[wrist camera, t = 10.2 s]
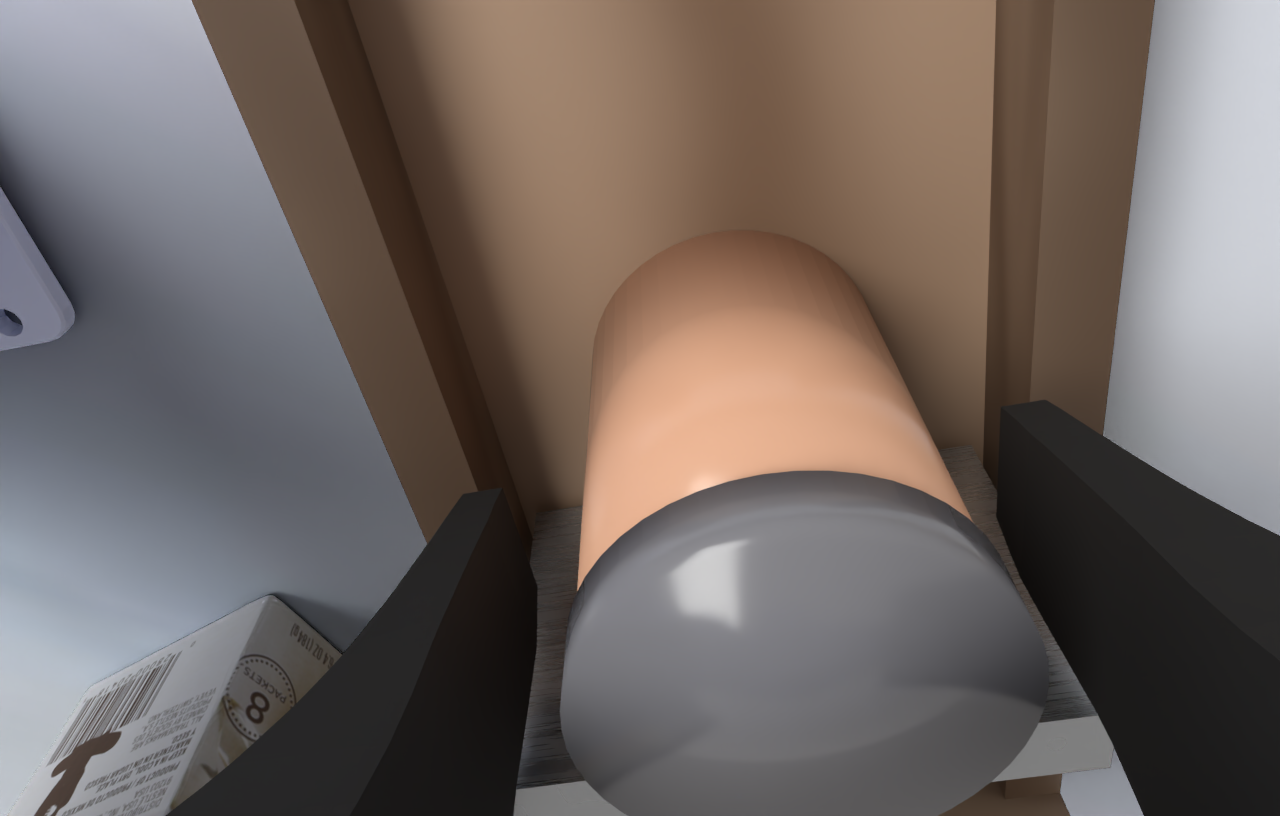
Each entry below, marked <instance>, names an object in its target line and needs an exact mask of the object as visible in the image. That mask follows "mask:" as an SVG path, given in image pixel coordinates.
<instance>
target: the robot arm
mask: <svg viewBox="0 0 1280 816" xmlns="http://www.w3.org/2000/svg"><path fill="white" fill-rule="evenodd" d="M4 309H6V310H8V311H10V312H12V313H14V314H15V315H16V316H17V317H18V318H19V319H20V320H21V322H22V325H19V324H17V323H15V322H13V321H11V320H10V319H9V318H8V317H7V316H6V315H5V312H4ZM74 320H75V312H74V309H73V307H72V304H71V302H70V300H69V299H68V297H67V296H66V294H65V292H64V291H63V289H62V287H61V286H60V284H59V282H58V281H57V279H56V277H55V276H54V274H53V273H52V271H51V269H50V268H49V266H48V264H47V263H46V261H45V259H44V258H43V256H42V255H41V253H40V251H39V250H38V248H37V246H36V245H35V243H34V241H33V240H32V238H31V236H30V235H29V233H28V232H27V230H26V228H25V227H24V225H23V223H22V222H21V220H20V218H19V217H18V215H17V213H16V212H15V210H14V209H13V207H12V205H11V204H10V202H9V200H8V199H7V197H6V195H5V194H4V192H3V190H2V189H1V187H0V351H3V350H8V349H14V348H19V347H24V346H30V345H35V344H40V343H46V342H51V341H53V340H56V339H58V338H60V337H61V336H62V335H64V334H65V333H66V332H67V331H68V330H69V329H70V328H71V326H72V325H73V324H74ZM996 518H997V521H998V523H999V526H1000V528H1001V531H1002V534H1003V536H1004V539H1005V541H1006V544H1007V547H1008V549H1009V552H1010V554H1011V557H1012V559H1013V561H1014V564H1015V566H1016V569H1017V571H1018V573H1019V576H1020V578H1021V580H1022V582H1023V584H1024V586H1025V587H1026V589H1027V591H1028V593H1029V595H1030V596H1031V598H1032V600H1033V602H1034V604H1035V605H1036V607H1037V609H1038V611H1039V612H1040V614H1041V616H1042V618H1043V620H1044V621H1045V623H1046V625H1047V627H1048V628H1049V630H1050V632H1051V634H1052V635H1053V637H1054V639H1055V641H1056V642H1057V644H1058V646H1059V648H1060V649H1061V651H1062V653H1063V655H1064V656H1065V658H1066V660H1067V662H1068V663H1069V665H1070V667H1071V669H1072V670H1073V672H1074V674H1075V676H1076V677H1077V679H1078V681H1079V683H1080V684H1081V686H1082V688H1083V690H1084V691H1085V693H1086V695H1087V697H1088V698H1089V700H1090V702H1091V704H1092V705H1093V707H1094V709H1095V711H1096V713H1097V715H1098V716H1099V718H1100V720H1101V722H1102V724H1103V726H1104V728H1105V730H1106V732H1107V734H1108V736H1109V738H1110V740H1111V742H1112V744H1113V746H1114V748H1115V751H1116V753H1117V755H1118V757H1119V760H1120V762H1121V764H1122V767H1123V769H1124V771H1125V773H1126V776H1127V778H1128V780H1129V782H1130V785H1131V787H1132V789H1133V792H1134V794H1135V796H1136V798H1137V801H1138V803H1139V805H1140V808H1141V810H1142V812H1143V815H1144V816H1280V536H1279V535H1277V534H1275V533H1273V532H1271V531H1269V530H1267V529H1265V528H1263V527H1261V526H1258V525H1256V524H1254V523H1252V522H1250V521H1248V520H1246V519H1244V518H1243V517H1241V516H1239V515H1237V514H1235V513H1233V512H1231V511H1229V510H1228V509H1226V508H1224V507H1222V506H1220V505H1218V504H1216V503H1215V502H1213V501H1211V500H1209V499H1207V498H1205V497H1203V496H1201V495H1200V494H1198V493H1196V492H1194V491H1193V490H1191V489H1189V488H1187V487H1186V486H1184V485H1182V484H1180V483H1179V482H1177V481H1175V480H1173V479H1172V478H1170V477H1168V476H1167V475H1165V474H1163V473H1162V472H1160V471H1158V470H1157V469H1155V468H1153V467H1152V466H1150V465H1148V464H1147V463H1145V462H1143V461H1142V460H1140V459H1139V458H1137V457H1135V456H1134V455H1132V454H1131V453H1129V452H1127V451H1126V450H1124V449H1123V448H1121V447H1119V446H1118V445H1116V444H1115V443H1113V442H1112V441H1110V440H1109V439H1107V438H1105V437H1104V436H1102V435H1101V434H1099V433H1098V432H1096V431H1094V430H1093V429H1091V428H1090V427H1088V426H1087V425H1085V424H1084V423H1082V422H1081V421H1079V420H1077V419H1076V418H1074V417H1073V416H1071V415H1070V414H1068V413H1067V412H1065V411H1063V410H1062V409H1060V408H1059V407H1057V406H1055V405H1054V404H1052V403H1050V402H1049V401H1047V400H1039V401H1033V402H1027V403H1021V404H1015V405H1009V406H1002V407H1001V411H1000V435H999V460H998V484H997V508H996ZM537 601H538V586H537V583H536V581H535V578H534V575H533V572H532V569H531V566H530V564H529V561H528V558H527V555H526V552H525V550H524V547H523V544H522V541H521V538H520V535H519V533H518V530H517V527H516V524H515V521H514V519H513V516H512V513H511V510H510V507H509V504H508V502H507V499H506V496H505V493H504V490H503V488H497V489H491V490H484V491H478V492H472V493H466V494H463V495H462V496H461V497H460V499H459V500H458V501H457V503H456V504H455V506H454V507H453V508H452V510H451V511H450V512H449V514H448V515H447V517H446V518H445V520H444V521H443V522H442V524H441V525H440V527H439V528H438V530H437V531H436V533H435V534H434V535H433V537H432V538H431V540H430V541H429V543H428V544H427V546H426V547H425V548H424V550H423V551H422V553H421V554H420V556H419V557H418V558H417V560H416V561H415V563H414V564H413V565H412V567H411V568H410V570H409V571H408V572H407V574H406V575H405V576H404V578H403V579H402V580H401V582H400V583H399V585H398V586H397V587H396V589H395V590H394V591H393V593H392V594H391V596H390V597H389V598H388V600H387V601H386V602H385V603H384V605H383V606H382V607H381V608H380V610H379V611H378V612H377V613H376V615H375V616H374V617H373V618H372V620H371V621H370V622H369V623H368V624H367V626H366V627H365V628H364V629H363V631H362V632H361V633H360V634H359V636H358V637H357V638H356V639H355V641H354V642H353V643H352V644H351V645H350V647H349V648H348V649H347V650H346V651H345V652H344V653H343V655H342V656H341V657H340V658H339V659H338V660H337V661H336V662H335V664H334V665H333V666H332V667H331V668H330V669H329V670H328V671H327V672H326V673H325V674H324V675H323V676H322V677H321V679H320V680H319V681H318V682H317V683H316V684H315V685H314V686H313V687H312V688H311V689H310V690H309V691H308V692H307V693H306V694H305V695H304V696H303V697H302V698H301V699H300V700H299V701H298V702H297V703H296V704H295V705H294V706H293V707H292V708H291V709H290V710H289V711H288V712H287V713H286V714H285V715H284V716H283V717H281V718H280V719H279V720H278V721H277V722H276V723H275V724H274V725H273V726H272V727H270V728H269V729H268V730H267V731H266V732H265V733H264V734H263V735H262V736H261V737H260V738H258V739H257V740H256V741H255V742H254V743H253V744H252V745H251V746H250V747H249V748H248V749H246V750H245V751H244V752H243V753H242V754H241V755H240V756H239V757H238V758H236V759H235V760H234V761H233V762H232V763H231V764H229V765H228V766H227V767H226V768H225V769H223V770H222V771H221V772H220V773H219V774H217V775H216V776H215V777H214V778H213V779H211V780H210V781H209V782H208V783H206V784H205V785H204V786H203V787H202V788H200V789H199V790H198V791H196V792H195V793H194V794H193V795H191V796H190V797H189V798H187V799H186V800H185V801H184V802H182V803H181V804H180V805H178V806H177V807H176V808H175V809H173V810H172V811H171V812H169V813H168V814H167V815H165V816H513V815H514V806H515V796H516V787H517V780H518V773H519V767H520V760H521V753H522V747H523V740H524V733H525V726H526V720H527V713H528V706H529V700H530V693H531V686H532V679H533V672H534V665H535V657H536V649H537Z"/></svg>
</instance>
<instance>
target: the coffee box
mask: <svg viewBox="0 0 1280 816" xmlns="http://www.w3.org/2000/svg"><path fill="white" fill-rule="evenodd" d="M341 656H342V654H341V653H340V652H339V651H338V650H336V649H335V648H334V647H333V646H332V645H331V644H330V643H329V642H328V641H326V640H325V639H324V638H323V637H322V636H321V635H320V634H319V633H317V632H316V631H315V630H314V629H313V628H312V627H311V626H310V625H308V624H307V623H306V622H305V621H304V620H303V619H302V618H300V617H299V616H298V615H297V614H296V613H295V612H294V611H292V610H291V609H290V608H289V607H288V606H287V605H285V604H284V603H283V602H282V601H280V600H279V599H278V598H276V597H275V596H272V595H268V596H264V597H262V598H260V599H258V600H255V601H253V602H251V603H249V604H247V605H245V606H243V607H242V608H240V609H238V610H236V611H234V612H232V613H230V614H228V615H226V616H225V617H223V618H221V619H219V620H217V621H215V622H213V623H211V624H209V625H207V626H205V627H203V628H201V629H199V630H197V631H196V632H194V633H192V634H190V635H188V636H186V637H184V638H182V639H180V640H178V641H176V642H174V643H173V644H171V645H169V646H167V647H165V648H163V649H161V650H159V651H157V652H155V653H153V654H151V655H149V656H148V657H146V658H144V659H142V660H140V661H138V662H136V663H134V664H132V665H131V666H129V667H127V668H125V669H123V670H121V671H119V672H117V673H115V674H113V675H111V676H109V677H107V678H105V679H104V680H102V681H100V682H98V683H96V684H94V685H92V686H91V687H89V688H88V690H87V691H86V693H85V694H84V695H83V697H82V698H81V700H80V701H79V703H78V705H77V706H76V708H75V709H74V711H73V713H72V714H71V716H70V718H69V719H68V721H67V722H66V724H65V726H64V727H63V729H62V730H61V732H60V734H59V735H58V737H57V739H56V740H55V742H54V743H53V745H52V746H51V748H50V750H49V751H48V753H47V754H46V756H45V757H44V759H43V760H42V762H41V763H40V765H39V767H38V768H37V770H36V771H35V773H34V775H33V776H32V778H31V779H30V781H29V782H28V784H27V786H26V787H25V789H24V790H23V792H22V794H21V795H20V797H19V798H18V800H17V801H16V803H15V804H14V806H13V807H12V809H11V810H10V812H9V813H8V815H7V816H165V815H167V814H168V813H169V812H171V811H172V810H173V809H175V808H176V807H177V806H178V805H180V804H181V803H182V802H184V801H185V800H186V799H187V798H189V797H190V796H191V795H193V794H194V793H195V792H196V791H198V790H199V789H200V788H202V787H203V786H204V785H205V784H206V783H208V782H209V781H210V780H211V779H213V778H214V777H215V776H216V775H217V774H219V773H220V772H221V771H222V770H223V769H225V768H226V767H227V766H228V765H229V764H231V763H232V762H233V761H234V760H235V759H236V758H238V757H239V756H240V755H241V754H242V753H243V752H244V751H245V750H246V749H248V748H249V747H250V746H251V745H252V744H253V743H254V742H255V741H256V740H257V739H258V738H260V737H261V736H262V735H263V734H264V733H265V732H266V731H267V730H268V729H269V728H270V727H272V726H273V725H274V724H275V723H276V722H277V721H278V720H279V719H280V718H281V717H283V716H284V715H285V714H286V713H287V712H288V711H289V710H290V709H291V708H292V707H293V706H294V705H295V704H296V703H297V702H298V701H299V700H300V699H301V698H302V697H303V696H304V695H305V694H306V693H307V692H308V691H309V690H310V689H311V688H312V687H313V686H314V685H315V684H316V683H317V682H318V681H319V680H320V679H321V677H322V676H323V675H324V674H325V673H326V672H327V671H328V670H329V669H330V668H331V667H332V666H333V665H334V664H335V662H336V661H337V660H338V659H339V658H340V657H341Z"/></svg>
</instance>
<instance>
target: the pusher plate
mask: <svg viewBox="0 0 1280 816" xmlns="http://www.w3.org/2000/svg"><path fill="white" fill-rule="evenodd" d="M938 452H939V454H940V456H941V458H942V460H943V462H944V464H945V466H946V468H947V470H948V472H949V474H950V476H951V478H952V480H953V482H954V484H955V486H956V488H957V490H958V492H959V494H960V496H961V498H962V500H963V502H964V504H965V506H966V508H967V511H968V513H969V515H970V517H971V519H972V521H973V523H974V524H975V525H976V526H977V527H978V528H979V529H980V530H981V531H982V532H983V533H984V534H985V535H986V536H987V537H988V539H989V540H990V541H991V543H992V544H993V546H994V547H995V548H996V550H997V551H998V553H999V554H1000V556H1001V558H1002V560H1003V562H1004V564H1005V566H1006V568H1007V570H1008V572H1009V574H1010V576H1011V578H1012V580H1013V582H1014V584H1015V586H1016V588H1017V590H1018V591H1019V593H1020V595H1021V597H1022V599H1023V601H1024V603H1025V605H1026V607H1027V609H1028V611H1029V613H1030V615H1031V617H1032V619H1033V621H1034V623H1035V625H1036V627H1037V629H1038V632H1039V634H1040V636H1041V638H1042V640H1043V642H1044V645H1045V650H1046V654H1047V658H1048V663H1049V689H1048V694H1047V699H1046V704H1045V708H1044V710H1043V713H1042V715H1041V718H1040V720H1039V723H1038V725H1037V727H1036V729H1035V731H1034V732H1033V734H1032V736H1031V737H1030V739H1029V741H1028V742H1027V744H1026V746H1025V747H1024V748H1023V749H1022V750H1021V752H1020V753H1019V754H1018V755H1017V757H1016V758H1015V759H1014V760H1013V761H1012V763H1011V764H1010V765H1009V766H1008V767H1007V768H1006V769H1005V770H1003V771H1002V772H1001V773H1000V774H999V775H998V776H997V777H996V778H995V779H994V780H993V781H992V782H996V781H1004V780H1012V779H1020V778H1028V777H1037V776H1045V775H1053V774H1061V773H1069V772H1078V771H1086V770H1094V769H1102V768H1110V767H1111V761H1112V755H1113V749H1114V746H1113V744H1112V742H1111V740H1110V738H1109V736H1108V734H1107V732H1106V730H1105V728H1104V726H1103V724H1102V722H1101V720H1100V718H1099V716H1098V715H1097V713H1096V711H1095V709H1094V707H1093V705H1092V704H1091V702H1090V700H1089V698H1088V697H1087V695H1086V693H1085V691H1084V690H1083V688H1082V686H1081V684H1080V683H1079V681H1078V679H1077V677H1076V676H1075V674H1074V672H1073V670H1072V669H1071V667H1070V665H1069V663H1068V662H1067V660H1066V658H1065V656H1064V655H1063V653H1062V651H1061V649H1060V648H1059V646H1058V644H1057V642H1056V641H1055V639H1054V637H1053V635H1052V634H1051V632H1050V630H1049V628H1048V627H1047V625H1046V623H1045V621H1044V620H1043V618H1042V616H1041V614H1040V612H1039V611H1038V609H1037V607H1036V605H1035V604H1034V602H1033V600H1032V598H1031V596H1030V595H1029V593H1028V591H1027V589H1026V587H1025V586H1024V584H1023V582H1022V580H1021V578H1020V576H1019V573H1018V571H1017V569H1016V566H1015V564H1014V561H1013V559H1012V557H1011V554H1010V552H1009V549H1008V547H1007V544H1006V541H1005V539H1004V536H1003V534H1002V531H1001V528H1000V526H999V523H998V521H997V518H996V508H997V491H996V489H995V487H994V485H993V483H992V482H991V480H990V478H989V476H988V474H987V473H986V471H985V469H984V467H983V465H982V464H981V462H980V460H979V458H978V456H977V455H976V453H975V451H974V449H973V447H972V445H966V446H960V447H953V448H947V449H941V450H938ZM582 508H583V506H578V507H571V508H565V509H559V510H552V511H546V512H539V513H536V520H535V527H534V535H533V542H532V550H531V558H530V566H531V569H532V572H533V575H534V578H535V581H536V583H537V586H538V601H537V649H536V657H535V665H534V672H533V679H532V686H531V693H530V700H529V706H528V713H527V720H526V726H525V733H524V740H523V747H522V753H521V760H520V767H519V773H518V780H517V787H516V796H515V806H514V815H513V816H627V815H626V814H624V813H622V812H621V811H619V810H618V809H617V808H615V807H614V806H613V805H611V804H610V803H608V802H607V801H606V800H604V799H603V798H602V797H601V796H600V795H599V794H598V793H597V792H596V791H595V790H594V789H593V788H592V787H591V786H590V785H589V784H588V783H587V782H586V780H585V779H584V778H583V776H582V775H581V774H580V772H579V771H578V770H577V768H576V767H575V765H574V763H573V761H572V759H571V757H570V755H569V753H568V751H567V748H566V745H565V741H564V738H563V734H562V731H561V718H560V703H561V690H562V676H563V663H564V650H565V637H566V629H567V621H568V616H569V613H570V610H571V607H572V603H573V600H574V597H575V595H576V593H577V585H578V570H579V554H580V539H581V523H582Z"/></svg>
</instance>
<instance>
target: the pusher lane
mask: <svg viewBox="0 0 1280 816" xmlns="http://www.w3.org/2000/svg"><path fill="white" fill-rule="evenodd" d="M192 2H193V5H194V7H195V9H196V12H197V14H198V16H199V19H200V21H201V23H202V25H203V28H204V30H205V32H206V35H207V37H208V39H209V42H210V44H211V46H212V48H213V51H214V53H215V55H216V58H217V60H218V62H219V65H220V67H221V69H222V72H223V74H224V76H225V78H226V81H227V83H228V85H229V88H230V90H231V92H232V95H233V97H234V99H235V102H236V104H237V106H238V108H239V111H240V113H241V115H242V118H243V120H244V122H245V125H246V127H247V129H248V131H249V134H250V136H251V138H252V141H253V143H254V145H255V148H256V150H257V152H258V155H259V157H260V159H261V161H262V164H263V166H264V168H265V171H266V173H267V175H268V178H269V180H270V182H271V185H272V187H273V189H274V191H275V194H276V196H277V198H278V201H279V203H280V205H281V208H282V210H283V212H284V214H285V217H286V219H287V221H288V224H289V226H290V228H291V231H292V233H293V235H294V238H295V240H296V242H297V244H298V247H299V249H300V251H301V254H302V256H303V258H304V261H305V263H306V265H307V268H308V270H309V272H310V274H311V277H312V279H313V281H314V284H315V286H316V288H317V291H318V293H319V295H320V297H321V300H322V302H323V304H324V307H325V309H326V311H327V314H328V316H329V318H330V321H331V323H332V325H333V327H334V330H335V332H336V334H337V337H338V339H339V341H340V344H341V346H342V348H343V351H344V353H345V355H346V357H347V360H348V362H349V364H350V367H351V369H352V371H353V374H354V376H355V378H356V380H357V383H358V385H359V387H360V390H361V392H362V394H363V397H364V399H365V401H366V404H367V406H368V408H369V410H370V413H371V415H372V417H373V420H374V422H375V424H376V427H377V429H378V431H379V434H380V436H381V438H382V440H383V443H384V445H385V447H386V450H387V452H388V454H389V457H390V459H391V461H392V463H393V466H394V468H395V470H396V473H397V475H398V477H399V480H400V482H401V484H402V487H403V489H404V491H405V493H406V496H407V498H408V500H409V503H410V505H411V507H412V510H413V512H414V514H415V517H416V519H417V521H418V523H419V526H420V528H421V530H422V533H423V535H424V537H425V540H426V542H427V544H428V543H429V541H430V540H431V538H432V537H433V535H434V534H435V533H436V531H437V530H438V528H439V527H440V525H441V524H442V522H443V521H444V520H445V518H446V517H447V515H448V514H449V512H450V511H451V510H452V508H453V507H454V506H455V504H456V503H457V501H458V500H459V499H460V497H461V496H462V495H463V494H466V493H472V492H478V491H484V490H491V489H497V488H503V490H504V493H505V496H506V499H507V502H508V504H509V507H510V510H511V513H512V516H513V519H514V521H515V524H516V527H517V530H518V533H519V535H520V538H521V541H522V544H523V547H524V550H525V552H526V555H527V558H528V561H529V564H530V558H531V550H532V542H533V535H534V527H535V520H536V513H539V512H546V511H552V510H559V509H565V508H571V507H578V506H583V493H584V477H585V462H586V446H587V431H588V416H589V400H590V385H591V369H592V354H593V346H594V338H595V335H596V331H597V328H598V324H599V321H600V319H601V317H602V315H603V312H604V310H605V308H606V306H607V304H608V303H609V301H610V300H611V298H612V296H613V295H614V293H615V292H616V291H617V289H618V288H619V287H620V286H621V285H622V283H623V282H624V281H625V280H626V279H627V278H628V277H629V276H630V275H631V274H632V273H633V272H634V271H635V270H636V269H637V268H638V267H639V266H641V265H642V264H643V263H645V262H646V261H648V260H649V259H650V258H652V257H653V256H655V255H656V254H658V253H660V252H662V251H664V250H665V249H667V248H669V247H671V246H673V245H675V244H678V243H680V242H683V241H686V240H688V239H691V238H694V237H698V236H702V235H706V234H710V233H715V232H723V231H731V230H753V231H761V232H769V233H774V234H778V235H782V236H786V237H790V238H793V239H795V240H798V241H800V242H803V243H805V244H808V245H809V246H811V247H813V248H815V249H816V250H818V251H820V252H822V253H823V254H825V255H826V256H827V257H829V258H830V259H831V260H833V261H834V262H835V263H836V264H838V265H839V266H840V267H841V268H842V269H843V271H844V272H845V273H846V274H847V275H848V276H849V277H850V278H851V279H852V281H853V282H854V284H855V285H856V287H857V288H858V290H859V291H860V293H861V295H862V297H863V299H864V301H865V303H866V305H867V307H868V309H869V311H870V313H871V315H872V317H873V319H874V321H875V323H876V325H877V327H878V329H879V332H880V334H881V336H882V338H883V340H884V342H885V344H886V346H887V348H888V350H889V352H890V354H891V356H892V358H893V360H894V362H895V364H896V366H897V368H898V370H899V372H900V374H901V376H902V378H903V380H904V382H905V384H906V386H907V388H908V391H909V393H910V395H911V397H912V399H913V401H914V403H915V405H916V407H917V409H918V411H919V413H920V415H921V417H922V419H923V421H924V423H925V425H926V427H927V429H928V431H929V433H930V435H931V437H932V439H933V441H934V443H935V445H936V447H937V449H938V450H941V449H947V448H953V447H960V446H966V445H972V447H973V449H974V451H975V453H976V455H977V456H978V458H979V460H980V462H981V464H982V465H983V467H984V469H985V471H986V473H987V474H988V476H989V478H990V480H991V482H992V483H993V485H994V487H995V489H996V491H997V484H998V460H999V435H1000V411H1001V407H1002V406H1009V405H1015V404H1021V403H1027V402H1033V401H1039V400H1047V401H1049V402H1050V403H1052V404H1054V405H1055V406H1057V407H1059V408H1060V409H1062V410H1063V411H1065V412H1067V413H1068V414H1070V415H1071V416H1073V417H1074V418H1076V419H1077V420H1079V421H1081V422H1082V423H1084V424H1085V425H1087V426H1088V427H1090V428H1091V429H1093V430H1094V431H1096V432H1098V433H1099V434H1101V435H1102V436H1103V429H1104V420H1105V412H1106V404H1107V395H1108V387H1109V379H1110V370H1111V362H1112V354H1113V345H1114V337H1115V329H1116V320H1117V312H1118V303H1119V295H1120V287H1121V278H1122V270H1123V262H1124V253H1125V245H1126V237H1127V228H1128V220H1129V212H1130V203H1131V195H1132V186H1133V178H1134V170H1135V161H1136V153H1137V145H1138V136H1139V128H1140V120H1141V111H1142V103H1143V95H1144V86H1145V78H1146V69H1147V61H1148V53H1149V44H1150V36H1151V28H1152V19H1153V11H1154V3H1155V0H192ZM1061 780H1062V773H1061V774H1053V775H1045V776H1037V777H1028V778H1020V779H1012V780H1004V781H996V782H990V783H989V784H988V785H986V786H985V787H984V788H982V789H981V790H980V791H978V792H977V793H976V794H974V795H973V796H971V797H970V798H968V799H967V800H965V801H963V802H962V803H960V804H958V805H957V806H955V807H953V808H952V809H950V810H948V811H946V812H944V813H942V814H940V815H938V816H1070V814H1069V812H1068V810H1067V807H1066V805H1065V803H1064V801H1063V798H1062V796H1061V794H1060V788H1061Z"/></svg>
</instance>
